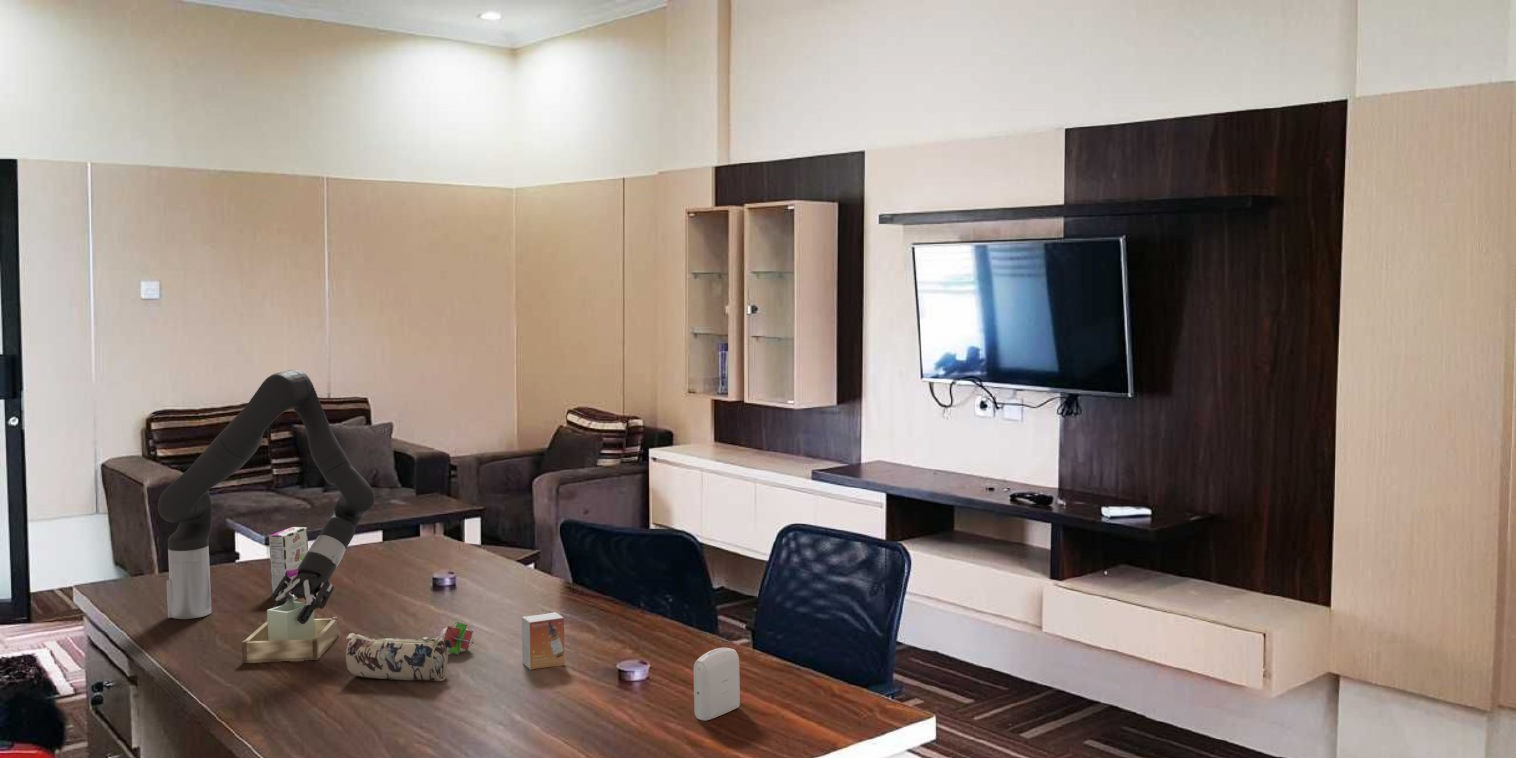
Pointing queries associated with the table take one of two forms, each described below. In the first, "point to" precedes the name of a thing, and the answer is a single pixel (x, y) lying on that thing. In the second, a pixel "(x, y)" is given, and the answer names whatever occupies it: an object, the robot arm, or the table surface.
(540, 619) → the small box
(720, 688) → the photo printer
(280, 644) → the wooden tray
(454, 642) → the geometric puzzle
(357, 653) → the pencil case
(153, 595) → the table surface
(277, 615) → the box
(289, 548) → the candy bar box
